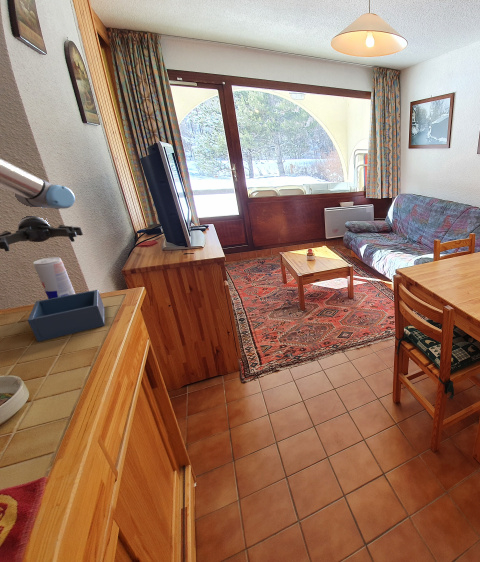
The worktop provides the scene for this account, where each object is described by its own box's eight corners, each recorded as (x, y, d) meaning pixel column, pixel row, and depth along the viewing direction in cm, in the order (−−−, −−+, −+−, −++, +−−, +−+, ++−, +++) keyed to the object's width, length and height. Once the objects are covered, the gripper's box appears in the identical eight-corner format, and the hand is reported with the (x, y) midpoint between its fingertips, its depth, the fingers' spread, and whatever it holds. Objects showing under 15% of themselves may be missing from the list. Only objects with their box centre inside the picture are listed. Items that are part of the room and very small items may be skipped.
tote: (37, 342, 75) (27, 320, 72) (44, 321, 84) (35, 301, 81) (104, 325, 82) (97, 305, 80) (104, 307, 91) (97, 289, 89)
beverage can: (79, 302, 94) (60, 255, 88) (80, 308, 91) (61, 260, 85) (53, 307, 91) (32, 259, 85) (54, 314, 87) (32, 264, 81)
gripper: (88, 233, 113) (99, 245, 100) (-18, 247, 95) (-21, 264, 83) (80, 212, 110) (91, 222, 97) (-30, 223, 93) (-35, 237, 80)
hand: (40, 241), depth 90 cm, fingers open, 13 cm apart
